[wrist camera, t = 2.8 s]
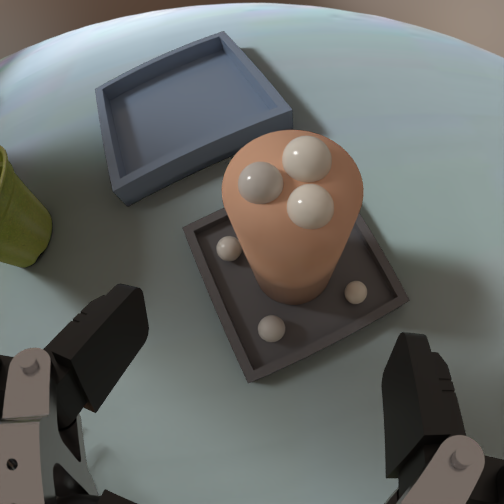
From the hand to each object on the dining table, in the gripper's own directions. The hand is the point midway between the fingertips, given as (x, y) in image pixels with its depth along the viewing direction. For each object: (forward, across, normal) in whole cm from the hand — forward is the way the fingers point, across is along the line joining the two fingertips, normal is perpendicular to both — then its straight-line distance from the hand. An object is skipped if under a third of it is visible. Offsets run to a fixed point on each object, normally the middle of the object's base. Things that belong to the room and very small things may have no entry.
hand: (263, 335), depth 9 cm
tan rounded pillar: (+11, 0, +3) cm, 11 cm away
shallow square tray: (+20, +12, -6) cm, 24 cm away
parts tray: (+11, 0, +4) cm, 12 cm away
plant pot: (+11, +24, +5) cm, 26 cm away
